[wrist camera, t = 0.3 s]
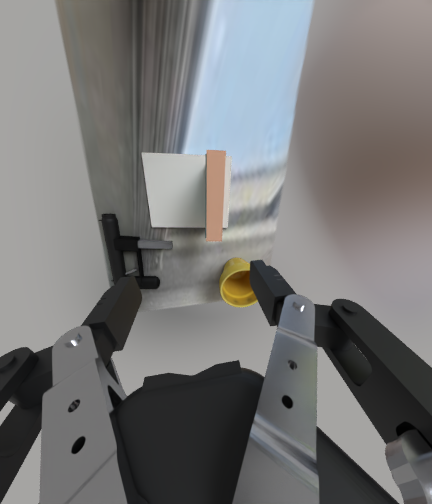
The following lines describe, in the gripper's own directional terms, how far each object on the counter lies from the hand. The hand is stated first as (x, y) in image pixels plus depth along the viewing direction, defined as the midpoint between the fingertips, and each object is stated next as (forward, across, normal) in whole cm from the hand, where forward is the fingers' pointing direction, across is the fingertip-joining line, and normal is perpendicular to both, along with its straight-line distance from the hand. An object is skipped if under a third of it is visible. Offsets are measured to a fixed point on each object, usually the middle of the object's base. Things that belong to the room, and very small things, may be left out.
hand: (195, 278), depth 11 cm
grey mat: (+28, +1, -2) cm, 28 cm away
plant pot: (+26, -9, +18) cm, 33 cm away
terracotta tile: (+27, -4, -2) cm, 28 cm away
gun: (+29, +15, +12) cm, 35 cm away
